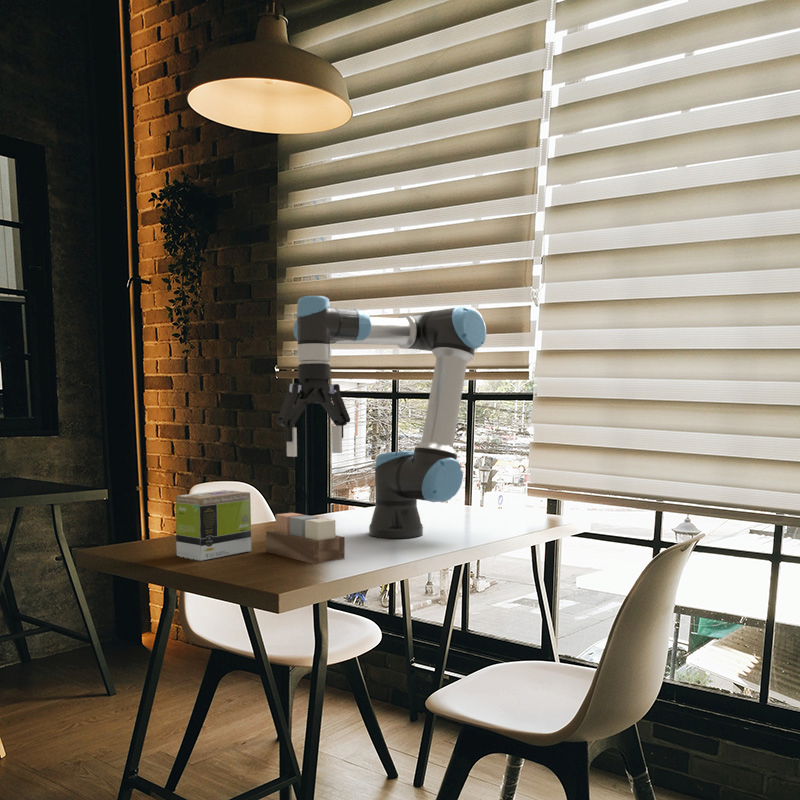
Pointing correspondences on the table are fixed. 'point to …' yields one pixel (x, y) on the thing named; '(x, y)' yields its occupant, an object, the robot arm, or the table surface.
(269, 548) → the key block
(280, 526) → the salmon pink block
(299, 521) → the blue-grey block
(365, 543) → the table surface
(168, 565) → the table surface
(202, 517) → the tea box
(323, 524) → the cream block
